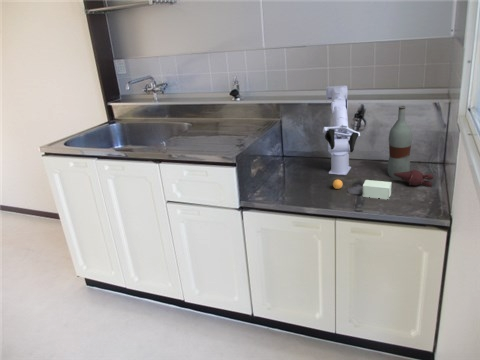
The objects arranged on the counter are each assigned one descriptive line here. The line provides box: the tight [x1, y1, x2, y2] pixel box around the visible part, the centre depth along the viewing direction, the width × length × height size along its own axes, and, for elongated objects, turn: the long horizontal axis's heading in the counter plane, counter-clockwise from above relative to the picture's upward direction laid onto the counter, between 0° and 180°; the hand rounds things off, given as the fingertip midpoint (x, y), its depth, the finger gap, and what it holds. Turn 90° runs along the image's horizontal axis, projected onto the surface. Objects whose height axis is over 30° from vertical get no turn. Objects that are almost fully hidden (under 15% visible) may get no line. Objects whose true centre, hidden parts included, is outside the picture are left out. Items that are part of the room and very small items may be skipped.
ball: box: [332, 179, 344, 190], centre depth 165 cm, size 4×4×4 cm
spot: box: [346, 186, 363, 195], centre depth 162 cm, size 7×7×1 cm
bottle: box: [387, 105, 413, 180], centre depth 166 cm, size 9×9×30 cm
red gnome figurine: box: [394, 168, 435, 187], centre depth 161 cm, size 7×7×15 cm
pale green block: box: [362, 179, 392, 201], centre depth 156 cm, size 6×10×5 cm, turn 62°
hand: (342, 149), depth 154 cm, fingers open, 7 cm apart
